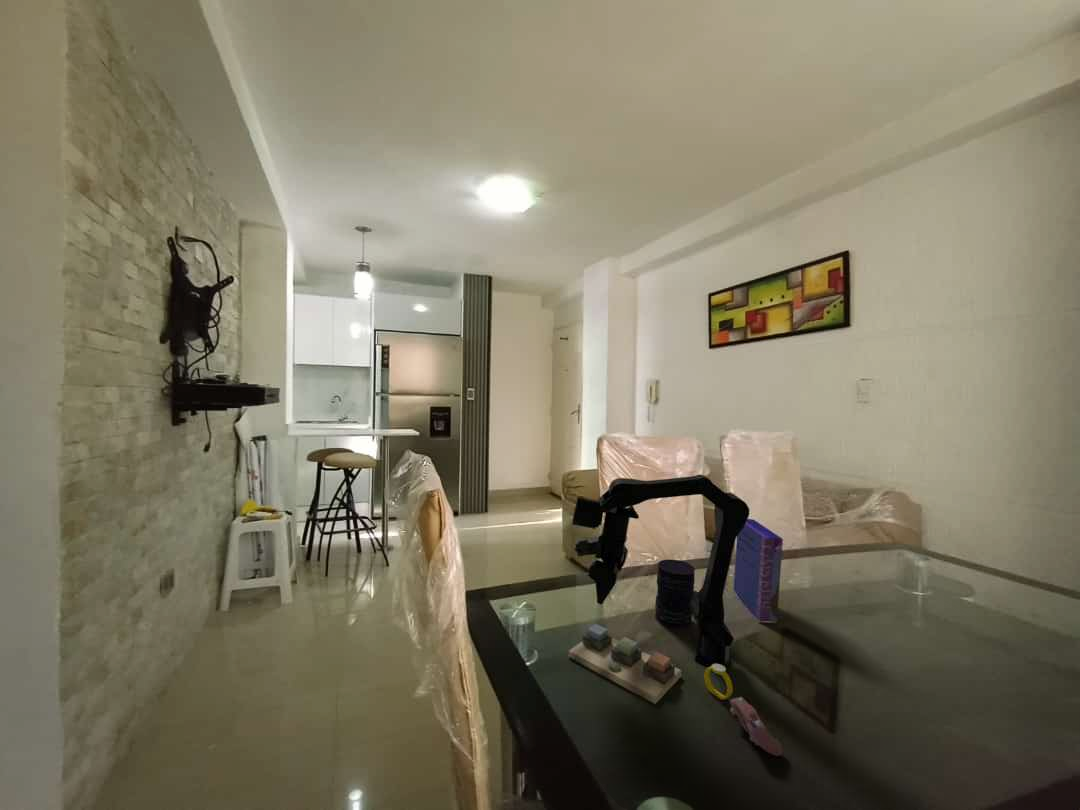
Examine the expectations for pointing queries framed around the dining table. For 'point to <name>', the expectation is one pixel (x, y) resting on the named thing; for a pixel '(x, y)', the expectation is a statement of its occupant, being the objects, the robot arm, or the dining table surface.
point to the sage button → (626, 646)
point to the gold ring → (722, 671)
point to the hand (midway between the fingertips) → (603, 595)
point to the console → (625, 667)
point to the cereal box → (758, 570)
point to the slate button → (597, 632)
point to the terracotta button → (659, 662)
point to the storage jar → (674, 593)
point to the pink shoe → (755, 726)
